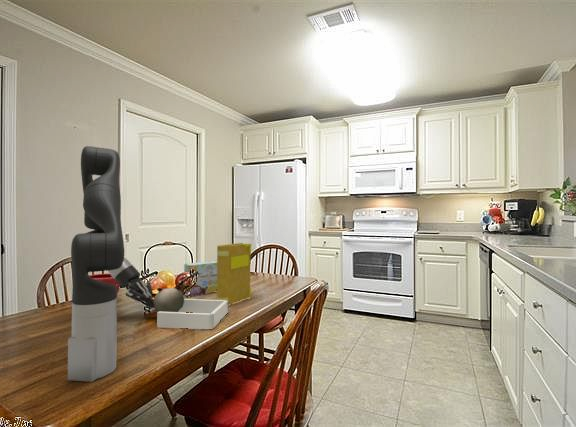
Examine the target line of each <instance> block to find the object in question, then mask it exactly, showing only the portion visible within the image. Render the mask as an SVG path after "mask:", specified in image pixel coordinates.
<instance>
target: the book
mask: <svg viewBox="0 0 576 427" xmlns="http://www.w3.org/2000/svg"><path fill="white" fill-rule="evenodd" d="M216 247H217V248H216V255H217V256H216V261H217V292H216V300H228V305H229V304H232V303H234V302H237V301H240V300H242V299H246V298H249V297H251V298H252V288H251V255H252V243H243V242H237V243H236V242H235V243H230V244H229V243H228V244H220V245H217V246H216Z"/></svg>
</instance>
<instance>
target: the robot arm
mask: <svg viewBox="0 0 576 427" xmlns="http://www.w3.org/2000/svg"><path fill="white" fill-rule="evenodd" d="M120 170H121V159H120V154H119V153H118V151H117V150H115V149H112V148H105V147H97V146H90V145H86V146H83V147H82V150H81V154H80V174H81V183H82V192H83V198H82V201H83V202H82V207H83V210H84V219H83V221H84V222H83V223H84V226H85V227H86V228H88V229H89V230H90V231H88V232H85V233H77V234H75V235H74V236H73V238H72V241H71V246H70V254H71V255H70V257H71V260H70V261H71V272H72V273H71V274H72V275H71V277H72V280H71V281H72V282H71V284H72V293H71V337H69V338H68V339H67V381H75V382H91V383H92V382H94V381H95V380H98V379H101V378H103V377H106V376H108V375H111V373H113V372H114V371H115V370H116V368H117V355H118V354H117V351H118V350H117V347H118V346H117V345H118V343H117V336H118V335H117V334H118V325H117V324H118V321H117V320H118V299H117V298H118V294H117V287H116V286H115V285H112V284H109V283H104V282H100V281H97V280H95V279H93V278H91V277H90V276H89V275H90V274H89V273H94V272H95V273H96V272H106V271H107V273H108V274H110V275H111V276H112V277H113V278H114V279H115V280H116V282H117V283H118V284H119V285H120V287H121V288H123V289H126V290H127V292H126V293H125V296H127V297H128V298H130V299H132V300H134V301H137V302H138V303H141V302H142V303H143V302H144V303H145V304H146V305H147V306H148V307H149V308H150V309H153V308H154V298H153V297H152V295H153V293H154V292H153V288H152V285H151V283H150V282H147V283H146V282H144V280H143V279H141V278H140V276H141V273H140V272H139V271H138V270H137V269H136V267H135V266H134V265H133V264H132V263H131V261H129V260H128V258H126V257H125V243H124V241H125V240H124V238H123V237H124V235H123V234H124V233H123V228H122V220H121V219H122V218H121V216H122V215H121V214H122V212H121V211H122V210H121V209H122V207H121V206H122V204H121V202H122V200H121V190H120V188H121V186H120ZM93 176H98V177H96V178H94V179H93ZM154 309H155V308H154Z"/></svg>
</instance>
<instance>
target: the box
mask: <svg viewBox="0 0 576 427" xmlns="http://www.w3.org/2000/svg"><path fill="white" fill-rule="evenodd" d="M186 312H189V313H186ZM190 312H193V313H190ZM227 313H228V314H229V307H228V300H217V299H203V298H202V299H201V298H200V299H199V298H184V304H183V307H182V308H181V309H180V310H179V312H162V311H159V312H157V311H156V314H157V315H156V327H157V328H160V329H161V328H163V329H164V328H165V329H180V328H188V329H187V330H201V329H213V328H214V327H215V326H216V325H217V324H218V323H219V322H220V320H221V319H222V318H223V317H224V316H225V315H226V314H227ZM228 314H227V315H228ZM227 315H226V316H227ZM226 316H225V317H226ZM225 317H224V318H225ZM224 318H223V319H224ZM223 319H222V320H223ZM222 320H221V321H222ZM220 323H221V322H220ZM220 323H219V324H220ZM219 324H218V325H219ZM218 325H217V326H218ZM217 326H216V327H217ZM216 327H215V328H216ZM215 328H214V329H215ZM214 329H213V330H214Z"/></svg>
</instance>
